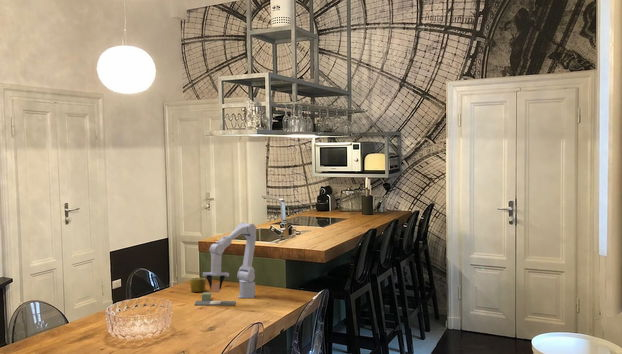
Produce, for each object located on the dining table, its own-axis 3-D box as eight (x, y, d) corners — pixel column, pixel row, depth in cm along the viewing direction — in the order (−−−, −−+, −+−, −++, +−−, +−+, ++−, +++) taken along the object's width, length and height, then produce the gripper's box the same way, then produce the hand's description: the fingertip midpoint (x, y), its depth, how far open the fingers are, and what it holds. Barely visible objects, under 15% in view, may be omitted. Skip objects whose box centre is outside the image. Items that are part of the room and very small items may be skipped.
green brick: (210, 299, 298) (211, 292, 298) (209, 301, 293) (210, 294, 293) (203, 299, 298) (203, 292, 298) (201, 301, 293) (202, 294, 293)
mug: (206, 290, 310) (202, 274, 312) (190, 295, 310) (186, 279, 312) (211, 290, 322) (207, 274, 324) (196, 294, 322) (192, 279, 324)
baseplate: (235, 302, 293) (235, 300, 293) (234, 305, 285) (234, 304, 285) (196, 301, 291) (196, 300, 291) (194, 305, 283) (194, 304, 283)
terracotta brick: (220, 290, 290) (220, 283, 290) (219, 292, 286) (219, 285, 286) (212, 290, 290) (212, 283, 290) (210, 292, 285) (211, 285, 285)
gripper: (202, 266, 283) (201, 290, 283) (228, 266, 284) (227, 290, 284) (204, 263, 290) (203, 287, 290) (229, 264, 291) (229, 287, 291)
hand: (215, 289), depth 288 cm, fingers closed on terracotta brick, 5 cm apart
